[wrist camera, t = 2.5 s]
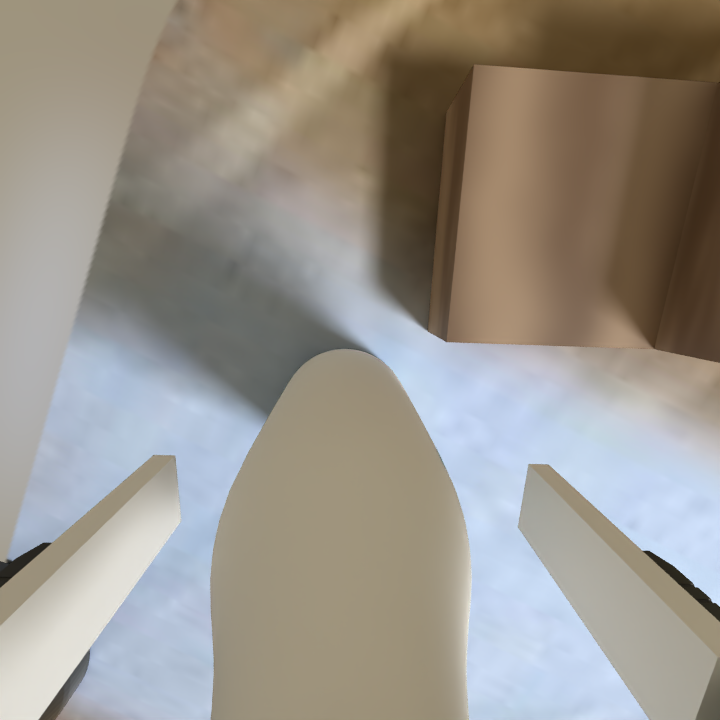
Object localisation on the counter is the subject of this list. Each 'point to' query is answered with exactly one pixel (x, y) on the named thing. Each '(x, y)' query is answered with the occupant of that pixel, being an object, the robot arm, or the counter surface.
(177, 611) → the counter surface
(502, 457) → the counter surface
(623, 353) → the counter surface
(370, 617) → the milk bottle
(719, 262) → the plinth
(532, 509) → the robot arm
